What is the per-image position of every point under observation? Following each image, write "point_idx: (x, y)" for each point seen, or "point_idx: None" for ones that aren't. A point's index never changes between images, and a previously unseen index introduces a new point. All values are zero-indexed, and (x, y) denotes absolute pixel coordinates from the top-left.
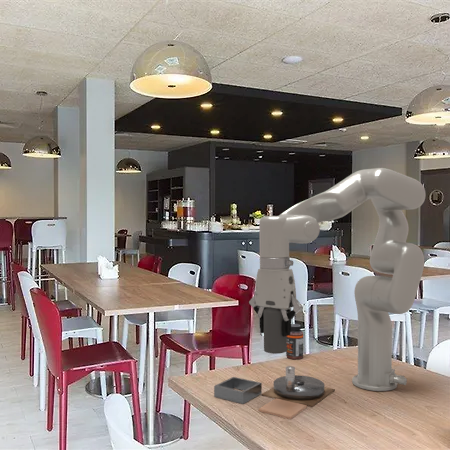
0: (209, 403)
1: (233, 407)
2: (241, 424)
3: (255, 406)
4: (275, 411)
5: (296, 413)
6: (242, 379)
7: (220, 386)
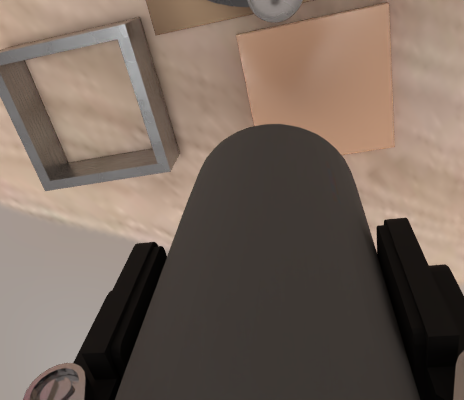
0: (105, 218)
1: (180, 193)
2: None
3: (224, 138)
4: None
5: (391, 100)
6: (36, 54)
7: (63, 180)
